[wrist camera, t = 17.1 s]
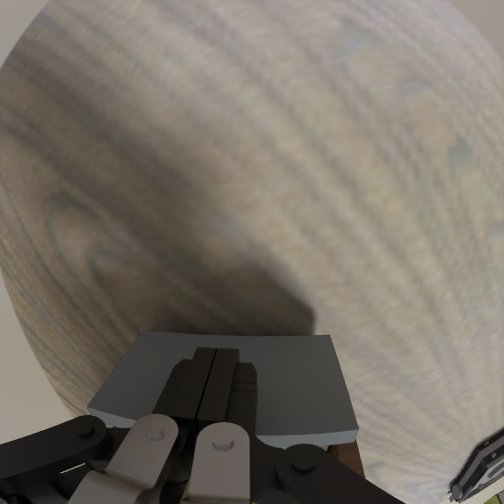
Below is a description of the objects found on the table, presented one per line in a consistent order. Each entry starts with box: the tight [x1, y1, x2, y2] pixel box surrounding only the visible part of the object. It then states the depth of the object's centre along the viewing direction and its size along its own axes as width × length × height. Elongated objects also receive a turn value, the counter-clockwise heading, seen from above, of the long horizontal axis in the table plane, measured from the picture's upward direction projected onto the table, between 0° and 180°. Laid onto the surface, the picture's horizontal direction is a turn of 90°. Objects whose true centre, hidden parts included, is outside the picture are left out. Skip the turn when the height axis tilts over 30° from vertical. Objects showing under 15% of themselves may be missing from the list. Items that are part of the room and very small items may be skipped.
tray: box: [87, 330, 359, 451], centre depth 13 cm, size 13×10×6 cm
